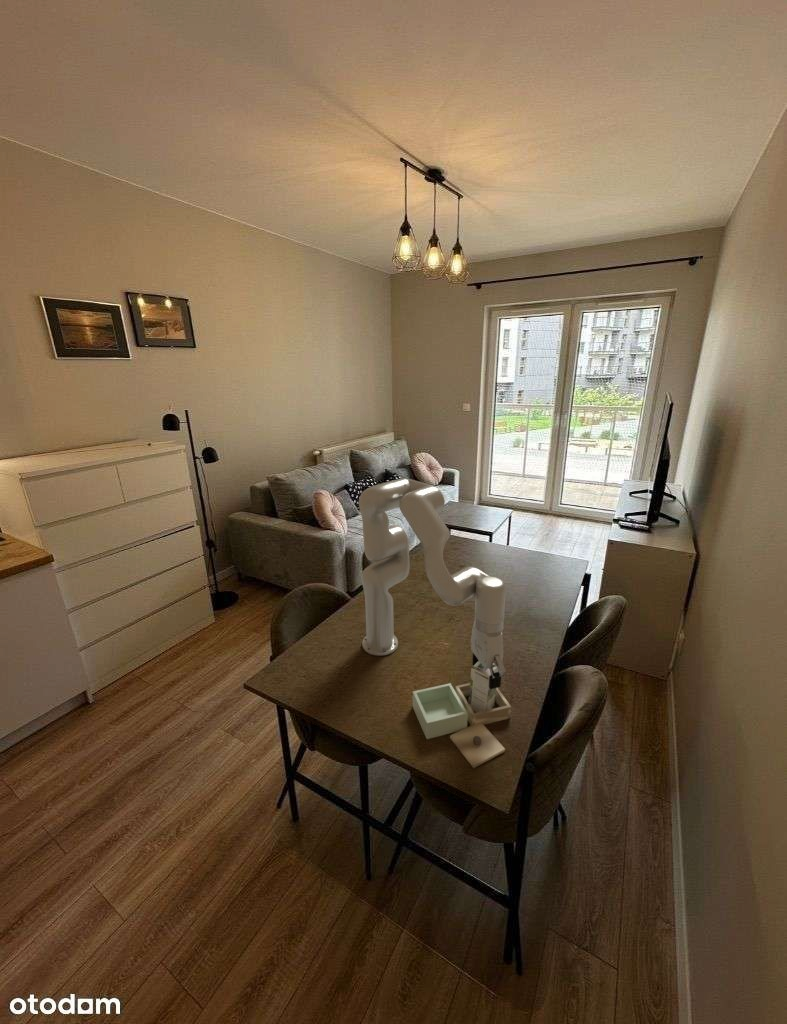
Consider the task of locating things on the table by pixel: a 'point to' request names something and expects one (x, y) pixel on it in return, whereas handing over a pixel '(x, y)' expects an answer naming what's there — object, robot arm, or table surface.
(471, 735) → the lid
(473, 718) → the frame
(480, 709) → the syrup box
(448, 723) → the bin
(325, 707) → the table surface
